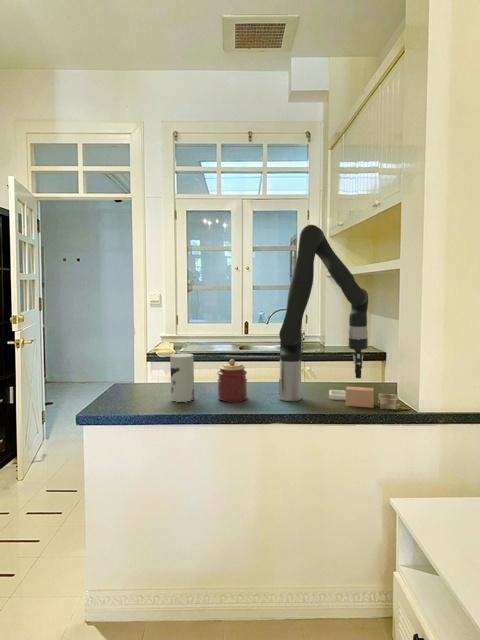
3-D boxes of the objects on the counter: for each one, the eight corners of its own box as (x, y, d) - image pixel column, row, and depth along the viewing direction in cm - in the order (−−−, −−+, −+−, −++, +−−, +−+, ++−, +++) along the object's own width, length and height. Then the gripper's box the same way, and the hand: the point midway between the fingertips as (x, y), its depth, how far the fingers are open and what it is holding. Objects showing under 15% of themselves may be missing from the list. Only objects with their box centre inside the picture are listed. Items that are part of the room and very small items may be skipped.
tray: (328, 399, 187) (329, 394, 186) (329, 394, 195) (329, 389, 195) (364, 401, 183) (364, 396, 183) (363, 395, 192) (363, 391, 192)
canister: (219, 394, 196) (218, 356, 195) (247, 394, 196) (247, 356, 194) (216, 403, 183) (215, 362, 182) (247, 402, 183) (246, 362, 181)
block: (345, 405, 177) (345, 389, 177) (346, 402, 182) (346, 386, 181) (373, 407, 174) (373, 390, 174) (373, 404, 179) (373, 387, 178)
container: (166, 400, 188) (165, 355, 187) (184, 395, 196) (183, 352, 194) (181, 404, 182) (180, 357, 180) (198, 399, 189) (198, 354, 187)
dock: (380, 408, 173) (380, 398, 172) (378, 403, 180) (378, 393, 180) (398, 409, 171) (398, 399, 171) (396, 403, 179) (396, 394, 178)
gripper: (348, 334, 184) (348, 372, 185) (348, 339, 170) (348, 379, 172) (366, 334, 182) (366, 372, 184) (368, 339, 168) (368, 380, 170)
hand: (357, 375), depth 178 cm, fingers open, 8 cm apart
